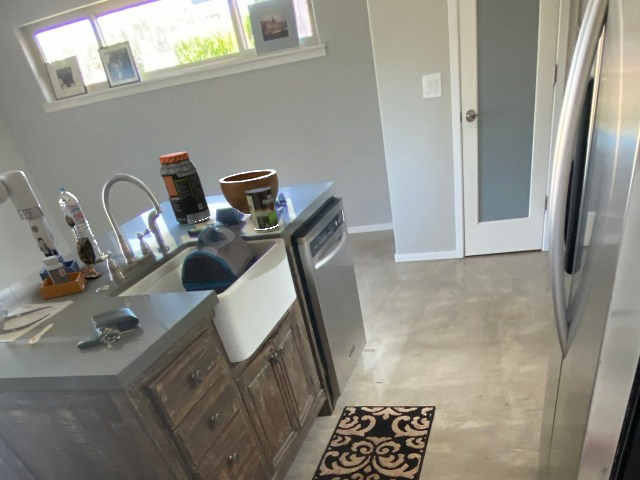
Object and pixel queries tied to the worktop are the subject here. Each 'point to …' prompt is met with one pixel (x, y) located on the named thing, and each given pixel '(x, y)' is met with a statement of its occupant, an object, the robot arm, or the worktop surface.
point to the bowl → (247, 187)
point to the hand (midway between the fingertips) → (59, 268)
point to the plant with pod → (85, 252)
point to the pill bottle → (56, 270)
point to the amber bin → (63, 286)
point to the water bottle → (77, 219)
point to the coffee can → (262, 209)
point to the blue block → (61, 260)
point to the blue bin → (71, 268)
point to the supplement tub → (184, 188)
